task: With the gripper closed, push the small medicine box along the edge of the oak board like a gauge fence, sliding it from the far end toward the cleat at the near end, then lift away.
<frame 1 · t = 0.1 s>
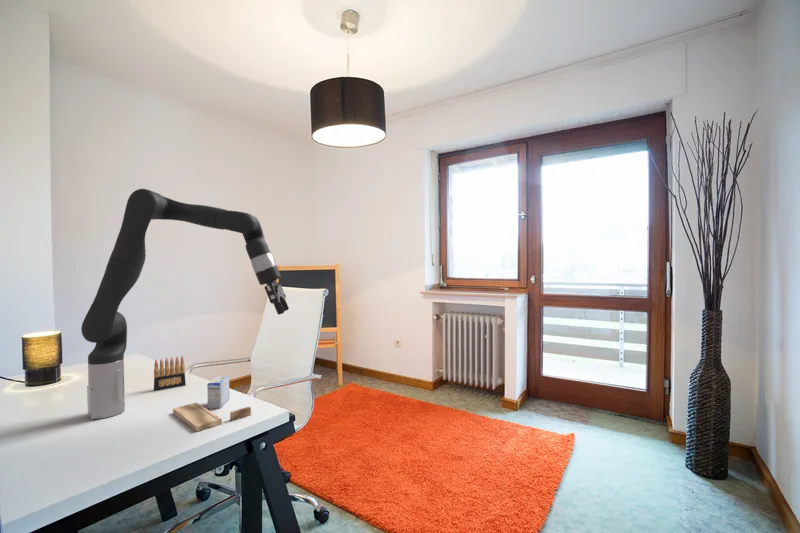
hand: (283, 312, 129), 31 cm above the table, tool tilted 20°, fingers open, 8 cm apart
cleat: (240, 417, 117), on the table
ammunition clip: (170, 388, 148), on the table
board: (196, 418, 117), on the table
medicine box: (218, 405, 129), on the table
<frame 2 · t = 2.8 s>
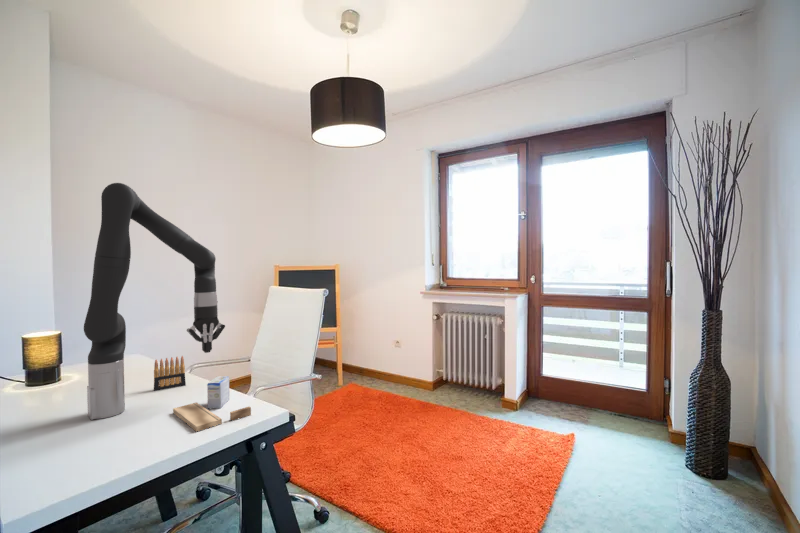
hand: (207, 352, 135), 17 cm above the table, tool pointing down, fingers closed
nothing on the table moved.
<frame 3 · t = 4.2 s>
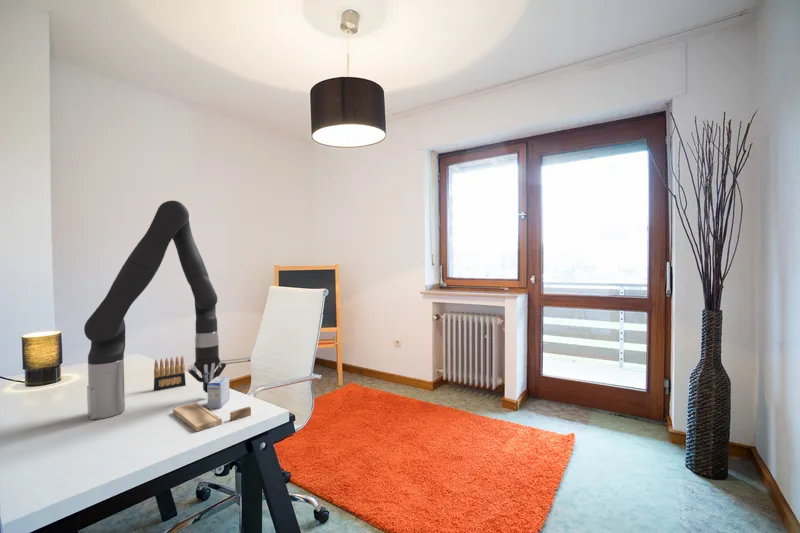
hand: (208, 391, 135), 2 cm above the table, tool pointing down, fingers closed
nothing on the table moved.
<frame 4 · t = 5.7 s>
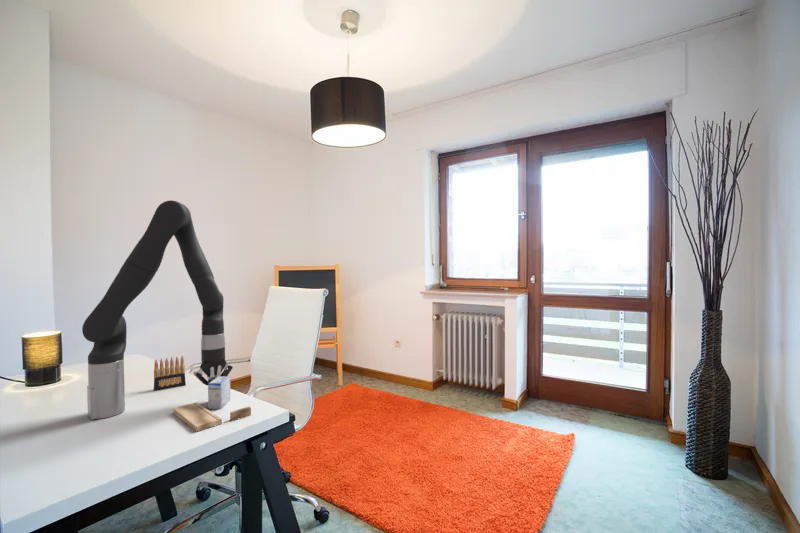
hand: (214, 395, 132), 2 cm above the table, tool pointing down, fingers closed
medicine box: (219, 405, 128), on the table, touching gripper
everything else where it was.
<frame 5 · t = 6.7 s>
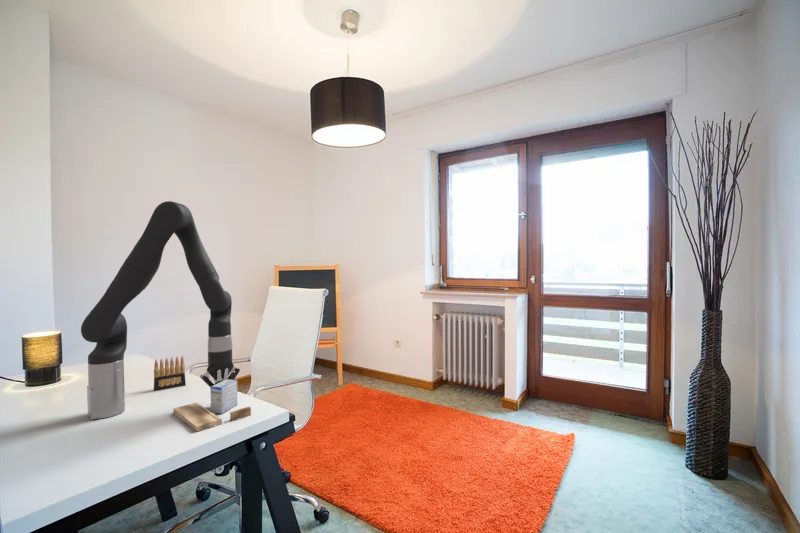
hand: (221, 398, 128), 2 cm above the table, tool pointing down, fingers closed
medicine box: (224, 409, 124), on the table
everything else where it was.
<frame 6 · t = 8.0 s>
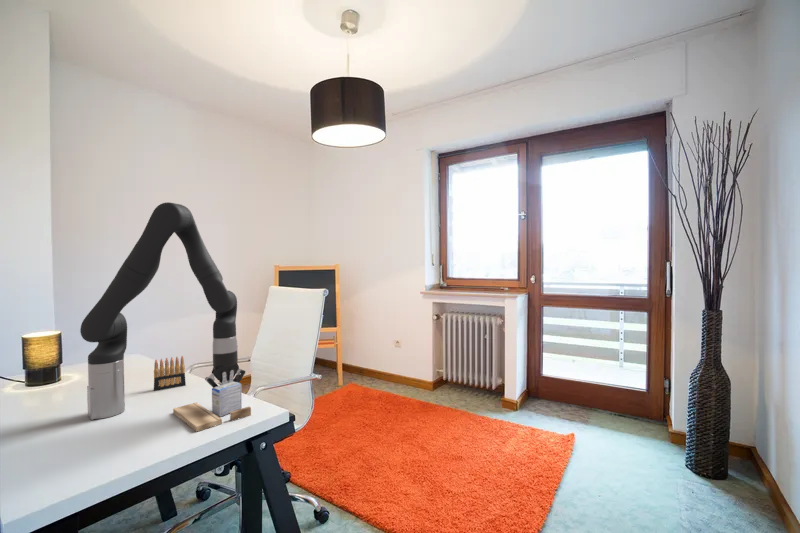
hand: (226, 401, 125), 2 cm above the table, tool pointing down, fingers closed
medicine box: (227, 412, 122), on the table, touching gripper, hand
everything else where it was.
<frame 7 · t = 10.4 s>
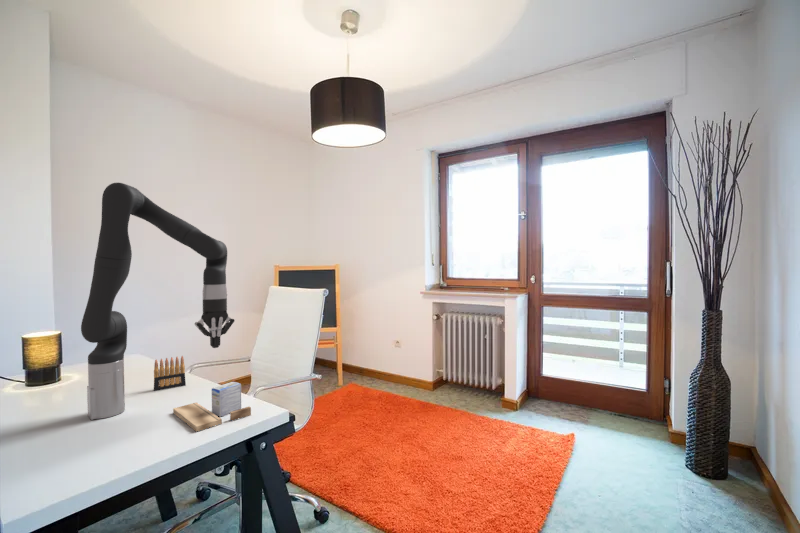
hand: (215, 347, 129), 20 cm above the table, tool pointing down, fingers closed
medicine box: (227, 412, 122), on the table
everything else where it was.
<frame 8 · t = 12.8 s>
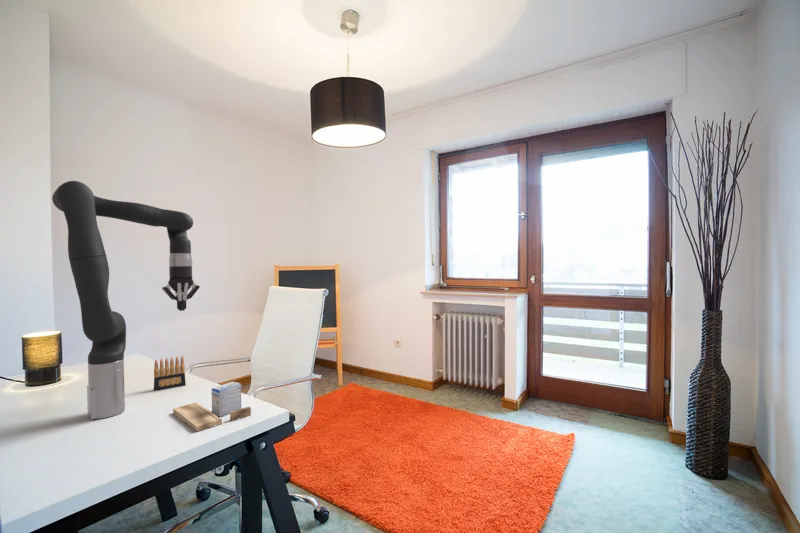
hand: (181, 310, 143), 31 cm above the table, tool pointing down, fingers closed
nothing on the table moved.
at the end: medicine box inside the target area (1.5 cm from its centre), on the table; medicine box moved 9.1 cm from its start; medicine box tilted 0° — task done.
